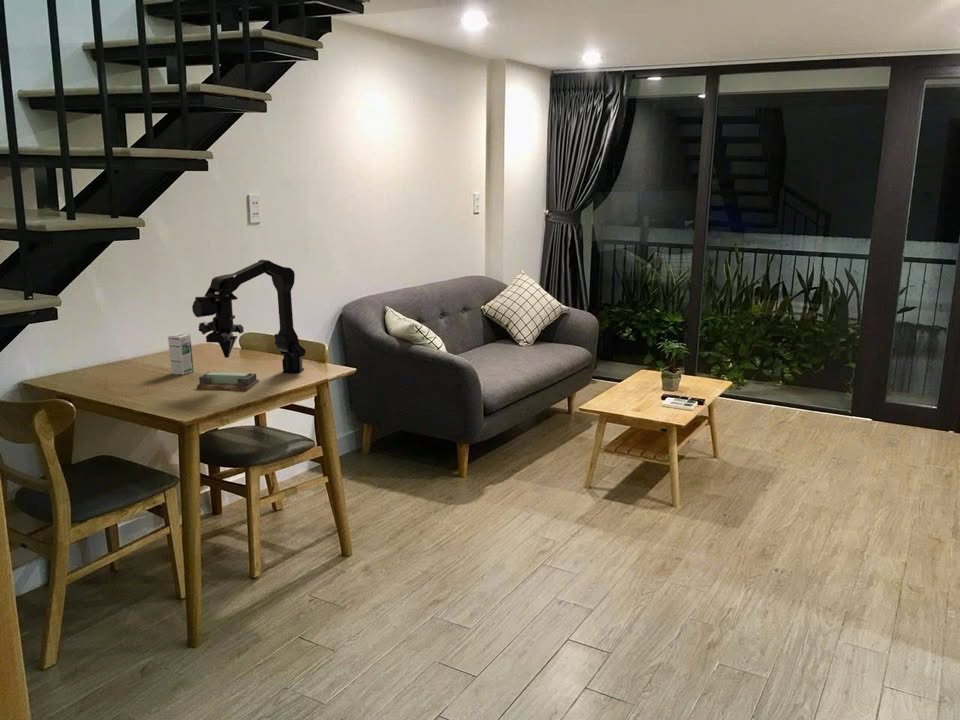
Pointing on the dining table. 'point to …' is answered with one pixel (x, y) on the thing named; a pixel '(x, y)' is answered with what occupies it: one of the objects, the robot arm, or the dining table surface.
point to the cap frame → (242, 383)
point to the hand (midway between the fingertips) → (226, 357)
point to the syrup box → (180, 353)
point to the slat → (226, 377)
